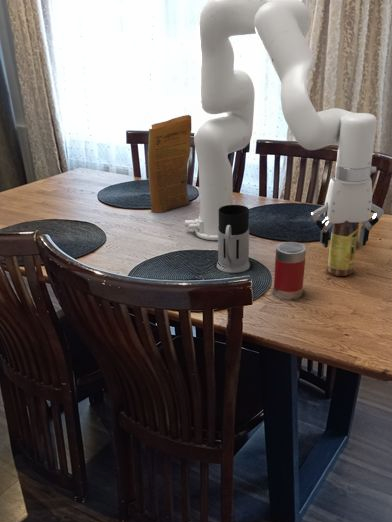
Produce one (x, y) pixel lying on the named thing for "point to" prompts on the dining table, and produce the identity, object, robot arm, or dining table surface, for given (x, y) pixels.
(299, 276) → the can
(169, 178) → the pancake mix bag
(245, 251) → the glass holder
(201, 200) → the robot arm
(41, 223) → the dining table surface
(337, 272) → the sauce bottle
